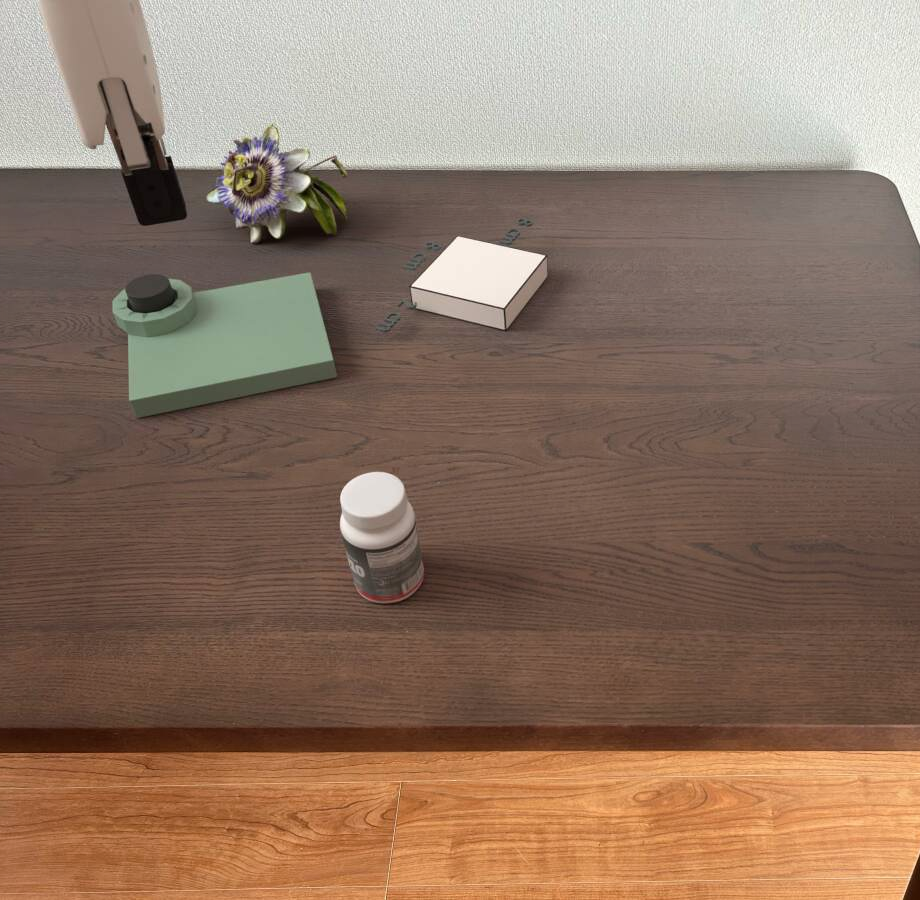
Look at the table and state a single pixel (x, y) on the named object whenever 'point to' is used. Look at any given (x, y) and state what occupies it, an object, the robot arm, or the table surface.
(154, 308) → the button
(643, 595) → the table surface
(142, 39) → the robot arm
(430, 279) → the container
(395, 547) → the pill bottle
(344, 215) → the passion flower
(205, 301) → the scale
